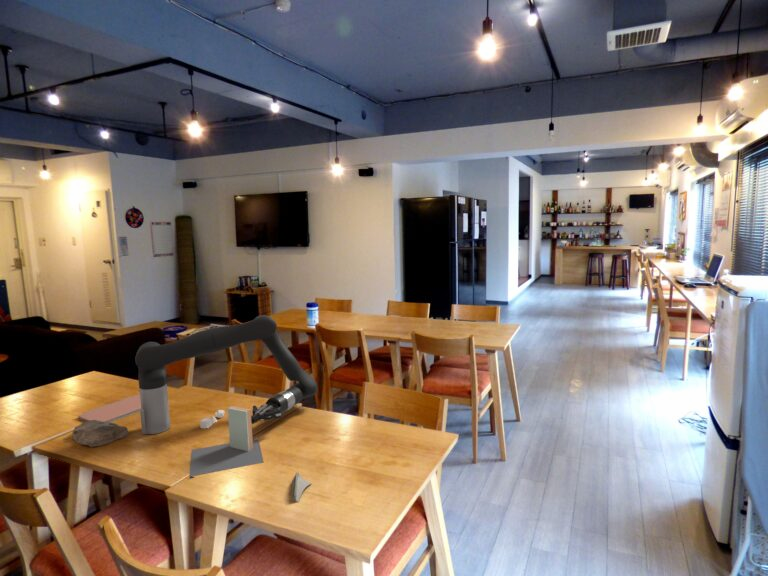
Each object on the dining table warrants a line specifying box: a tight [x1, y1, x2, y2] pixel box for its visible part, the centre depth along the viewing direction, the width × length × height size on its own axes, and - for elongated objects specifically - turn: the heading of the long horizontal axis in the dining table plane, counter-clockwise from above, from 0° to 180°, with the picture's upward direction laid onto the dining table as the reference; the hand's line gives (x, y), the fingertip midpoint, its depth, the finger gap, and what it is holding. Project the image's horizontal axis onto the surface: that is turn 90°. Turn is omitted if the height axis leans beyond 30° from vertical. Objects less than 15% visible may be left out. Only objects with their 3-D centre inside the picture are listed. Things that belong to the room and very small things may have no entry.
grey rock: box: [72, 420, 129, 448], centre depth 168 cm, size 14×5×20 cm
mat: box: [188, 437, 264, 479], centre depth 151 cm, size 22×18×1 cm
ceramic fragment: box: [291, 471, 312, 503], centre depth 132 cm, size 14×5×4 cm, turn 6°
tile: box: [227, 405, 253, 451], centre depth 155 cm, size 2×8×14 cm, turn 66°
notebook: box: [77, 394, 141, 423], centre depth 191 cm, size 27×17×2 cm, turn 149°
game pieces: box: [199, 409, 226, 429], centre depth 178 cm, size 12×3×3 cm, turn 164°
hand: (250, 421), depth 160 cm, fingers closed
